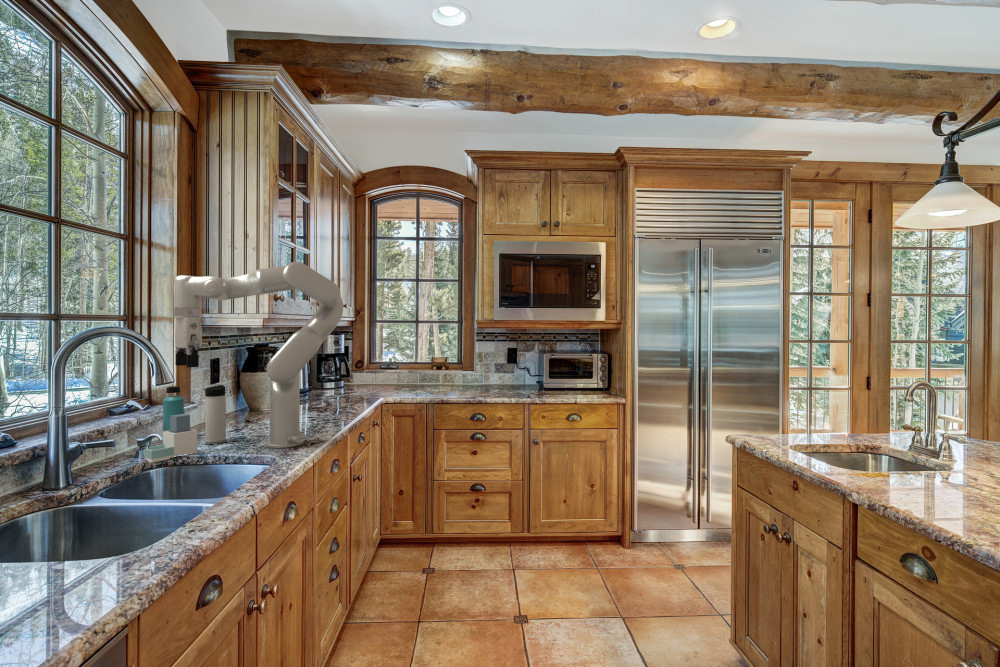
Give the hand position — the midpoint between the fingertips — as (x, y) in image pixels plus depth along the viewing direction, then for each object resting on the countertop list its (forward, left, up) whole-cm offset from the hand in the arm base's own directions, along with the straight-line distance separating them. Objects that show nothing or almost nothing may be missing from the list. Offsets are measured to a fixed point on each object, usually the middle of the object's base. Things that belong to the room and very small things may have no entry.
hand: (186, 366), depth 157 cm
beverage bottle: (+17, -4, -28) cm, 33 cm away
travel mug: (+5, -12, -28) cm, 31 cm away
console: (-1, +6, -28) cm, 29 cm away
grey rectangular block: (-1, +3, -23) cm, 24 cm away
